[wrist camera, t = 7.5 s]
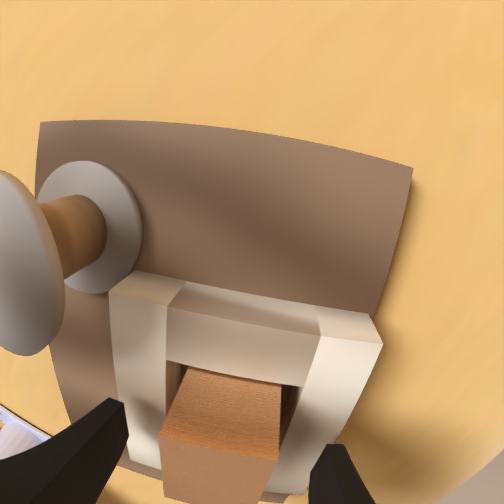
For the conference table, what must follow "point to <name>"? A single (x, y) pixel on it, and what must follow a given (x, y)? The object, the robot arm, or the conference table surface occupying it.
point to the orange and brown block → (220, 438)
